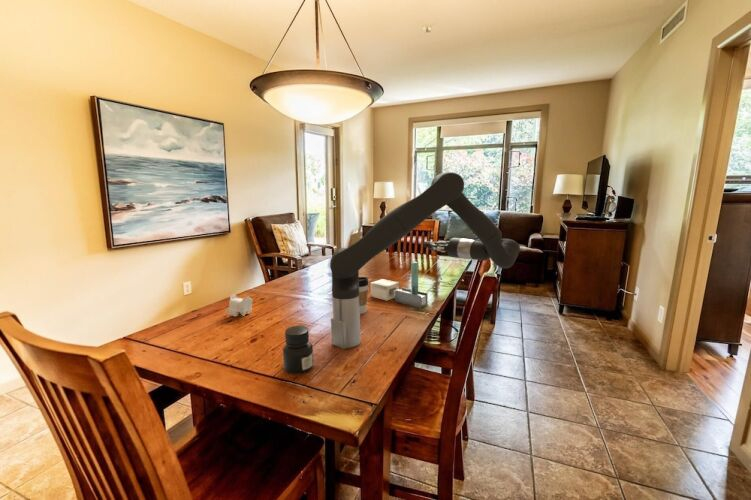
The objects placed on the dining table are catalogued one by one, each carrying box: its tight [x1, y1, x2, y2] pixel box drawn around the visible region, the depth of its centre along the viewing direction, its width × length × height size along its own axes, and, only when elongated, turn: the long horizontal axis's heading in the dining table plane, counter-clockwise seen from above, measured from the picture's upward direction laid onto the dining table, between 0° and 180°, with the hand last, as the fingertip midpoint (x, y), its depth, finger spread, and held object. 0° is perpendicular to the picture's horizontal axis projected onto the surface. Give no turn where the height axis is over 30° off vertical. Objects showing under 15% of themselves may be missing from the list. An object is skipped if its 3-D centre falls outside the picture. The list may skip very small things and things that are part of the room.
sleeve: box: [394, 287, 428, 309], centre depth 157 cm, size 6×14×6 cm, turn 48°
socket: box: [370, 278, 400, 301], centre depth 168 cm, size 9×10×7 cm
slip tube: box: [393, 261, 426, 305], centre depth 156 cm, size 4×16×19 cm, turn 48°
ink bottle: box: [282, 325, 315, 375], centre depth 102 cm, size 10×9×12 cm
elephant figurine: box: [224, 293, 254, 317], centre depth 146 cm, size 10×12×9 cm
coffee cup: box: [359, 276, 369, 315], centre depth 147 cm, size 8×8×15 cm
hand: (424, 244), depth 139 cm, fingers closed
